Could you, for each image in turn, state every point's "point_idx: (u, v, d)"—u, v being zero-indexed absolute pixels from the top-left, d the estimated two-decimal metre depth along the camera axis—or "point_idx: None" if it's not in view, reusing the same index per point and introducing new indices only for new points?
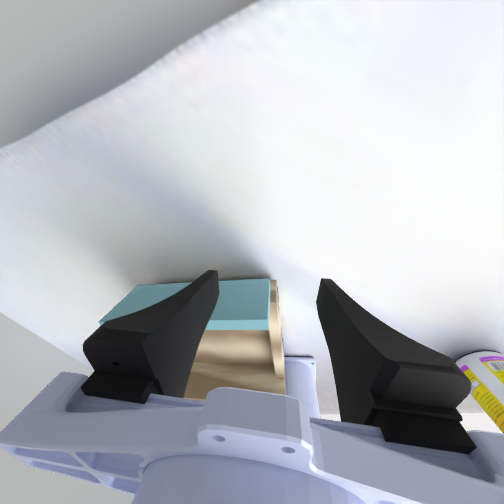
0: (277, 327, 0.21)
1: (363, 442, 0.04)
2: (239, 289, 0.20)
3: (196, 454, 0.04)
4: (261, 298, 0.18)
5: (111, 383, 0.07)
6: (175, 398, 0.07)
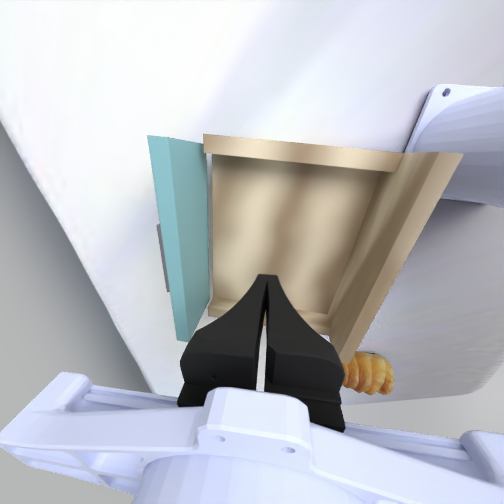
0: (255, 141, 0.13)
1: (363, 442, 0.04)
2: None
3: (196, 454, 0.04)
4: None
5: (207, 397, 0.06)
6: (175, 398, 0.07)
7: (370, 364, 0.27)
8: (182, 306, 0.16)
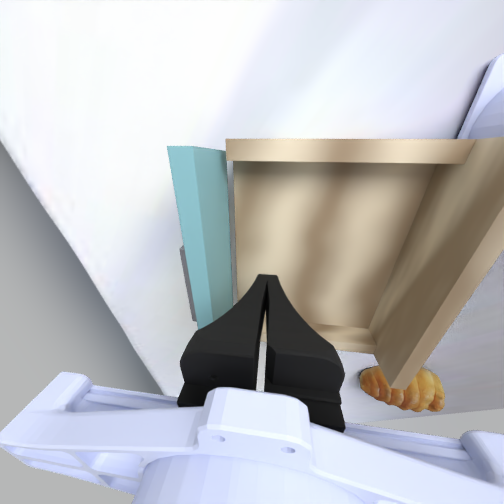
0: (288, 142, 0.11)
1: (363, 442, 0.04)
2: None
3: (196, 454, 0.04)
4: None
5: (207, 397, 0.06)
6: (175, 398, 0.07)
7: (416, 379, 0.24)
8: None
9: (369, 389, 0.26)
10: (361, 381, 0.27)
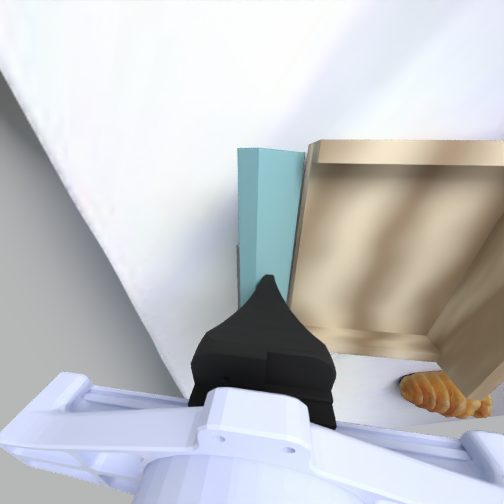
0: (390, 143, 0.10)
1: (363, 442, 0.04)
2: None
3: (196, 454, 0.04)
4: None
5: None
6: (175, 398, 0.07)
7: None
8: None
9: (412, 397, 0.25)
10: (402, 388, 0.26)
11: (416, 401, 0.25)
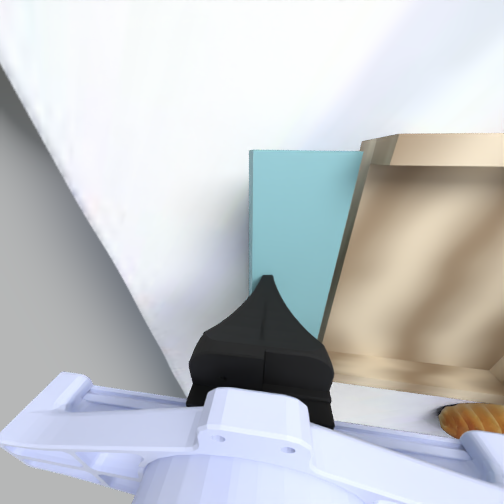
0: (499, 138, 0.07)
1: (363, 442, 0.04)
2: None
3: (196, 454, 0.04)
4: None
5: None
6: (175, 398, 0.07)
7: None
8: None
9: (455, 431, 0.22)
10: (442, 420, 0.23)
11: None
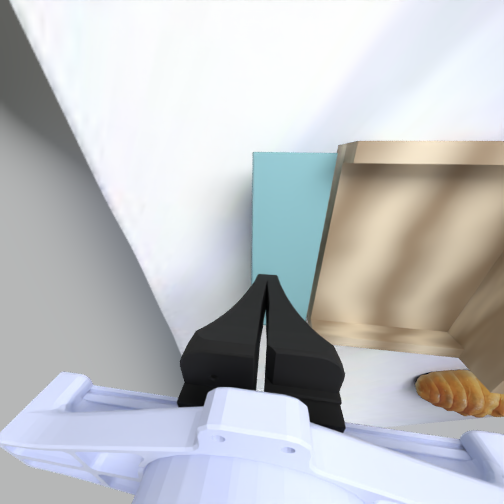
0: (425, 144, 0.11)
1: (363, 442, 0.04)
2: None
3: (196, 454, 0.04)
4: None
5: (207, 397, 0.06)
6: (175, 398, 0.07)
7: (479, 385, 0.24)
8: None
9: (428, 395, 0.26)
10: (418, 387, 0.27)
11: (433, 400, 0.26)
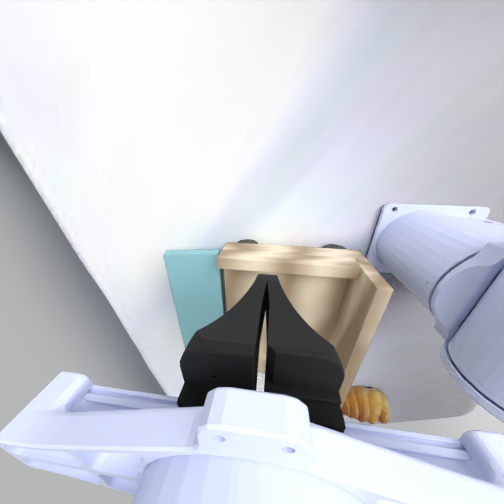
0: (254, 262, 0.18)
1: (363, 442, 0.04)
2: None
3: (196, 454, 0.04)
4: None
5: (207, 397, 0.06)
6: (175, 398, 0.07)
7: (367, 398, 0.31)
8: (181, 331, 0.26)
9: None
10: None
11: None
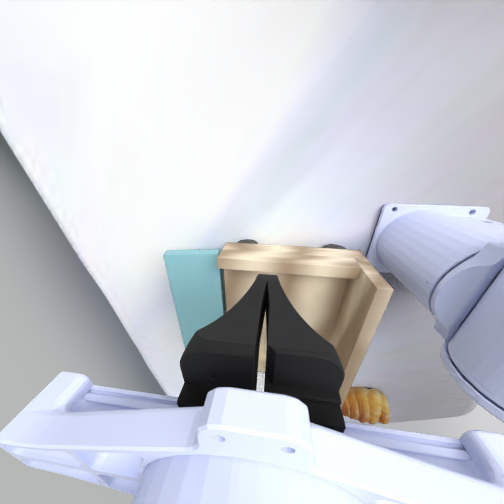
0: (254, 262, 0.18)
1: (363, 442, 0.04)
2: None
3: (196, 454, 0.04)
4: None
5: (207, 397, 0.06)
6: (175, 398, 0.07)
7: (367, 399, 0.31)
8: (181, 331, 0.26)
9: None
10: None
11: None
